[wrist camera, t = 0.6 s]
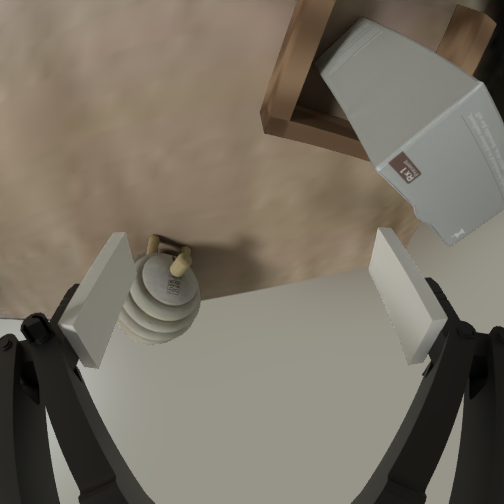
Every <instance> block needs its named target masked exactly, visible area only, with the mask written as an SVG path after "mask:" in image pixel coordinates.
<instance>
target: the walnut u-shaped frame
mask: <svg viewBox="0 0 504 504" xmlns="http://www.w3.org/2000/svg"><path fill="white" fill-rule="evenodd" d="M335 1H336V0H298V2H297V5H296V7H295V10H294V13H293V16H292V19H291V21H290V24H289V27H288V30H287V33H286V36H285V39H284V41H283V44H282V47H281V50H280V53H279V56H278V59H277V62H276V65H275V68H274V71H273V74H272V77H271V80H270V83H269V86H268V89H267V92H266V95H265V98H264V102H263V105H262V108H261V111H260V115H261V120H262V125H263V130H264V133H265V134H269V135H274V136H278V137H283V138H287V139H291V140H295V141H299V142H303V143H307V144H311V145H315V146H319V147H322V148H326V149H330V150H333V151H337V152H340V153H344V154H347V155H350V156H354V157H357V158H360V159H363V160H366V161H370V159H369V157H368V155H367V153H366V151H365V149H364V147H363V145H362V144H361V142H360V140H359V138H358V136H357V134H356V133H355V131H354V129H353V127H352V125H351V124H350V122H349V121H347V120H344V119H341V118H338V117H335V116H332V115H329V114H325V113H322V112H319V111H315V110H312V109H309V108H305V107H301V106H298V105H296V103H297V100H298V97H299V95H300V92H301V89H302V87H303V84H304V82H305V79H306V76H307V74H308V71H309V69H310V66H311V63H312V61H313V58H314V55H315V53H316V50H317V48H318V45H319V43H320V40H321V37H322V35H323V32H324V30H325V27H326V24H327V22H328V19H329V17H330V14H331V12H332V9H333V7H334V4H335ZM495 27H496V23H495V22H494V21H493V20H492V19H491V18H490V17H489V16H488V15H487V14H485V13H482V12H479V11H476V10H473V9H470V8H467V7H464V6H460V5H457V7H456V10H455V12H454V14H453V16H452V19H451V21H450V23H449V25H448V28H447V30H446V32H445V34H444V36H443V39H442V41H441V43H440V45H439V47H438V49H437V51H436V53H437V54H438V55H440V56H442V57H443V58H445V59H447V60H448V61H450V62H451V63H453V64H455V65H456V66H458V67H459V68H461V69H463V70H464V71H466V72H467V73H469V74H470V75H473V73H474V71H475V69H476V67H477V65H478V63H479V61H480V59H481V57H482V55H483V53H484V51H485V49H486V47H487V44H488V42H489V40H490V38H491V36H492V33H493V31H494V29H495ZM370 162H371V161H370Z"/></svg>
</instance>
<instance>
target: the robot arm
mask: <svg viewBox="0 0 504 504" xmlns="http://www.w3.org/2000/svg"><path fill="white" fill-rule="evenodd" d="M369 272H370V274H371V276H372V278H373V281H374V283H375V285H376V287H377V290H378V292H379V294H380V296H381V299H382V300H383V303H384V306H385V308H386V310H387V312H388V315H389V317H390V320H391V322H392V324H393V327H394V329H395V332H396V334H397V337H398V339H399V342H400V344H401V346H402V349H403V352H404V355H405V357H406V360H407V363H408V365H410V364H417V363H422V362H424V360H425V358H426V357H427V355H428V354H429V356H430V359H431V362H430V363H429V365H428V366H427V368H426V369H425V371H424V373H423V374H422V375H423V376H424V377H423V380H422V382H421V384H420V386H419V389H418V391H417V393H416V395H415V398H414V400H413V402H412V404H411V406H410V408H409V410H408V412H407V414H406V417H405V418H404V421H403V422H402V424H401V426H400V428H399V430H398V432H397V434H396V436H395V438H394V439H393V441H392V443H391V445H390V447H389V448H388V450H387V452H386V454H385V455H384V457H383V459H382V461H381V462H380V464H379V466H378V467H377V469H376V470H375V472H374V473H373V475H372V477H371V478H370V480H369V481H368V483H367V484H366V486H365V487H364V489H363V490H362V491H361V493H360V494H359V495H358V496H357V497H356V498H355V499H354V500H353V502H352V503H351V504H425V502H426V494H425V490H426V488H427V485H428V483H429V481H430V479H431V477H432V475H433V473H434V471H435V469H436V467H437V464H438V462H439V460H440V458H441V455H442V453H443V451H444V448H445V446H446V443H447V441H448V438H449V435H450V433H451V430H452V427H453V425H454V422H455V419H456V416H457V413H458V410H459V407H460V404H461V401H462V397H463V394H464V408H463V420H462V421H463V422H462V431H461V439H460V448H459V454H458V461H457V467H456V472H455V478H454V483H453V487H452V492H451V497H450V501H449V504H504V328H503V327H501V326H496V327H493V329H492V330H491V332H490V333H489V334H484V333H478V332H476V331H475V329H474V328H473V326H472V325H470V324H469V323H467V322H465V321H460V319H459V318H458V316H457V314H456V312H455V311H454V309H453V307H452V306H451V304H450V302H449V301H448V300H447V297H446V296H445V294H444V293H443V291H442V290H441V288H440V286H439V285H438V283H436V282H435V281H434V280H433V279H432V278H424V277H423V275H422V274H421V272H420V270H419V269H418V267H417V266H416V264H415V263H414V261H413V260H412V258H411V256H410V255H409V253H408V252H407V250H406V249H405V247H404V246H403V244H402V243H401V242H400V240H399V239H398V237H397V236H396V234H395V233H394V231H393V230H392V229H391V228H378V230H377V235H376V239H375V244H374V249H373V253H372V257H371V261H370V266H369ZM136 275H137V272H136V268H135V265H134V261H133V258H132V254H131V251H130V247H129V243H128V239H127V235H126V232H116V233H112V235H111V236H110V238H109V239H108V241H107V242H106V244H105V245H104V247H103V248H102V250H101V251H100V253H99V255H98V256H97V258H96V259H95V261H94V262H93V264H92V266H91V267H90V269H89V270H88V272H87V274H86V275H85V277H84V278H83V280H82V282H81V283H80V284H75V285H73V286H72V287H71V288H70V289H69V290H68V291H67V293H66V294H65V296H64V298H63V300H62V301H61V303H60V304H59V305H60V306H58V308H57V310H56V311H55V313H54V315H53V317H52V318H51V320H50V322H48V320H47V318H46V317H45V315H44V314H42V313H34V314H31V315H30V316H28V317H27V318H26V319H25V320H24V321H23V323H22V325H21V332H22V333H23V335H24V336H25V338H26V339H27V340H23V341H18V339H17V338H16V337H15V335H13V334H6V335H4V336H3V337H1V338H0V504H60V501H59V497H58V493H57V488H56V483H55V479H54V473H53V468H52V462H51V455H50V449H49V441H48V432H47V423H46V411H45V406H46V409H47V412H48V415H49V418H50V421H51V424H52V427H53V429H54V432H55V435H56V438H57V440H58V443H59V445H60V448H61V450H62V453H63V455H64V457H65V460H66V462H67V464H68V466H69V469H70V471H71V473H72V475H73V477H74V479H75V482H76V484H77V486H78V487H79V490H80V496H79V497H78V498H79V503H80V504H155V503H154V502H153V501H152V500H151V499H150V498H149V497H148V495H147V494H146V493H145V492H144V491H143V489H142V487H141V486H140V484H139V483H138V481H137V480H136V478H135V477H134V475H133V474H132V472H131V471H130V469H129V467H128V466H127V464H126V462H125V461H124V459H123V457H122V456H121V454H120V452H119V450H118V449H117V447H116V445H115V444H114V442H113V440H112V438H111V436H110V434H109V433H108V431H107V429H106V427H105V425H104V423H103V421H102V419H101V417H100V415H99V413H98V411H97V409H96V407H95V405H94V403H93V400H92V398H91V396H90V394H89V392H88V389H87V387H86V385H85V383H84V380H83V378H82V376H81V373H80V371H79V369H78V367H77V366H76V365H77V362H78V360H79V359H80V361H81V362H82V364H83V365H84V367H90V368H97V369H99V366H100V364H101V361H102V358H103V355H104V353H105V350H106V347H107V345H108V342H109V339H110V337H111V334H112V332H113V329H114V327H115V324H116V322H117V319H118V317H119V314H120V312H121V310H122V307H123V305H124V302H125V300H126V298H127V295H128V293H129V291H130V288H131V286H132V284H133V282H134V279H135V277H136Z"/></svg>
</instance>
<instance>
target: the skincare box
mask: <svg viewBox="0 0 504 504" xmlns="http://www.w3.org/2000/svg"><path fill="white" fill-rule="evenodd" d="M313 65H314V66H315V68H316V69H317V70H318V72H319V73H320V75H321V76H322V78H323V79H324V81H325V82H326V84H327V85H328V87H329V89H330V90H331V92H332V93H333V95H334V97H335V98H336V100H337V101H338V103H339V104H340V106H341V108H342V109H343V111H344V113H345V115H346V117H347V118H348V120H349V122H350V124H351V125H352V127H353V129H354V131H355V133H356V134H357V136H358V138H359V140H360V142H361V144H362V145H363V147H364V149H365V151H366V153H367V155H368V157H369V159H370V161H371V163H372V165H373V166H374V168H375V170H376V171H377V172H378V173H379V174H380V175H381V176H382V177H383V178H384V179H385V180H386V181H387V182H388V183H389V184H391V185H392V186H393V187H394V188H395V189H396V190H397V191H398V192H399V193H400V194H401V195H402V196H403V197H404V198H405V199H406V200H407V201H408V202H409V203H410V205H411V206H412V207H413V208H414V212H415V215H416V217H417V218H418V219H419V220H420V221H422V222H424V223H428V224H429V226H430V227H431V228H432V229H433V230H434V231H435V232H436V233H437V235H438V236H439V237H440V238H441V239H442V240H443V241H444V242H445V244H446V245H448V246H452V245H454V244H455V243H457V242H458V241H460V240H461V239H463V238H464V237H465V236H467V235H468V234H470V233H471V232H472V231H474V230H475V229H477V228H478V227H480V226H481V225H482V224H484V223H485V222H486V221H488V220H489V219H491V218H492V217H494V216H495V215H496V214H498V213H499V212H501V211H502V210H503V209H504V123H503V121H502V119H501V116H500V114H499V112H498V110H497V108H496V106H495V104H494V102H493V100H492V98H491V96H490V94H489V92H488V90H487V88H486V87H485V85H484V83H483V82H480V81H479V80H477V79H476V78H474V77H473V76H472V75H470V74H469V73H467V72H466V71H464V70H463V69H461V68H459V67H458V66H456V65H455V64H453V63H451V62H450V61H448V60H447V59H445V58H443V57H442V56H440V55H438V54H437V53H435V52H433V51H432V50H430V49H428V48H426V47H424V46H423V45H421V44H419V43H417V42H415V41H413V40H411V39H409V38H408V37H406V36H404V35H402V34H400V33H397V32H395V31H393V30H391V29H389V28H387V27H385V26H382V25H380V24H378V23H376V22H373V21H371V20H369V19H366V18H364V17H361V18H359V19H358V20H357V21H356V22H355V23H354V24H353V25H352V26H351V27H350V28H349V29H348V30H347V31H346V32H345V33H344V34H343V35H342V36H341V37H340V38H339V39H338V40H337V41H336V42H335V43H333V44H332V45H331V46H330V47H329V48H328V49H327V50H326V51H325V52H324V53H323V54H322V55H321V56H320V57H319V58H318V59H317V60H316V61H315V63H314V64H313Z"/></svg>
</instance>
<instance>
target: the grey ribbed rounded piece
mask: <svg viewBox="0 0 504 504" xmlns="http://www.w3.org/2000/svg"><path fill="white" fill-rule="evenodd" d="M158 246H159V237H158V236H156V235H152V236H150V238H149V242H148V247H147V253H146V254H142V255H139V256H136V257H134V258H133V261H134V265H135V268H136V272H137V275H136V277H135V279H134V282H133V284H132V286H131V288H130V291H129V293H128V295H127V298H126V300H125V302H124V305H123V307H122V310H121V312H120V314H119V317H118V319H117V322H118V324H119V326H120V328H121V330H122V331H123V332H124V333H125V334H126V335H127V336H128V337H129V338H131V339H132V340H134V341H136V342H138V343H142V344H146V345H153V344H161V343H166V342H168V341H170V340H172V339H174V338H176V337H178V336H180V335H182V334H183V333H184V332H186V331H187V330H188V328H189V327H190V326H191V325H192V323H193V321H194V319H195V317H196V316H197V314H198V311H199V308H200V287H199V283H198V280H197V278H196V276H195V274H194V272H193V271H192V269H191V268H190V265H191V263H192V258H191V256H190V252H191V250H190V248H189V247H188V246H183V247H182V248H181V249H180V255H179V256H178V257H176V256H172V255H168V254H164V253H157V252H158Z"/></svg>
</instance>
